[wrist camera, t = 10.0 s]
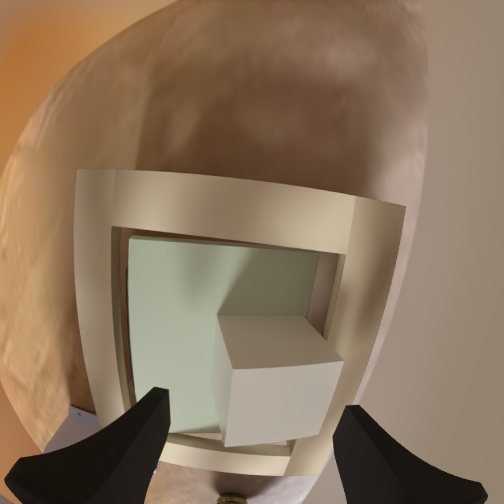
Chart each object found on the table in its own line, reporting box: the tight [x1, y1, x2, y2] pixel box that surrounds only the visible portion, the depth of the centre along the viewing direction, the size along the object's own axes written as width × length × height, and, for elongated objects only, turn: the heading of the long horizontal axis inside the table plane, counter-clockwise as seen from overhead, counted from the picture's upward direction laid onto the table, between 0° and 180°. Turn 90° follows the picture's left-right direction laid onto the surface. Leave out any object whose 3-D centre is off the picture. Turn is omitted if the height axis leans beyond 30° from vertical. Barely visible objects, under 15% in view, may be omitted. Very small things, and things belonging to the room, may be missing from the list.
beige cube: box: [211, 315, 344, 447], centre depth 13 cm, size 4×4×4 cm
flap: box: [126, 235, 319, 433], centre depth 16 cm, size 10×12×3 cm
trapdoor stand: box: [74, 169, 406, 476], centre depth 17 cm, size 15×18×7 cm
